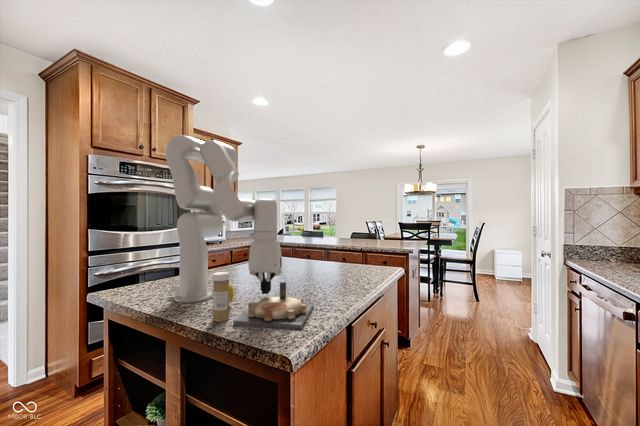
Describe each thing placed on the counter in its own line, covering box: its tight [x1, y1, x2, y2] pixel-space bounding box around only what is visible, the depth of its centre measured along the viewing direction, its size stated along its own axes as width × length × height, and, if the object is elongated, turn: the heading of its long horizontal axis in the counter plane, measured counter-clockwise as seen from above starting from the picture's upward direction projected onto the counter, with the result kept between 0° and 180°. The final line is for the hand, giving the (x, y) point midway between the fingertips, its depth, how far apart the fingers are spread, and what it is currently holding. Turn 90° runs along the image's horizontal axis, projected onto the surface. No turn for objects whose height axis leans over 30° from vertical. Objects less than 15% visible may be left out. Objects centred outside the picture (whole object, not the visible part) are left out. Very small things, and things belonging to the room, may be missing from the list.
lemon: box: [229, 283, 235, 304], centre depth 93 cm, size 6×6×8 cm
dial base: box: [232, 302, 315, 330], centre depth 84 cm, size 19×19×1 cm
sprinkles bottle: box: [212, 271, 231, 323], centre depth 80 cm, size 5×5×13 cm
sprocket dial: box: [247, 281, 306, 321], centre depth 84 cm, size 18×18×7 cm
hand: (265, 292), depth 91 cm, fingers closed
